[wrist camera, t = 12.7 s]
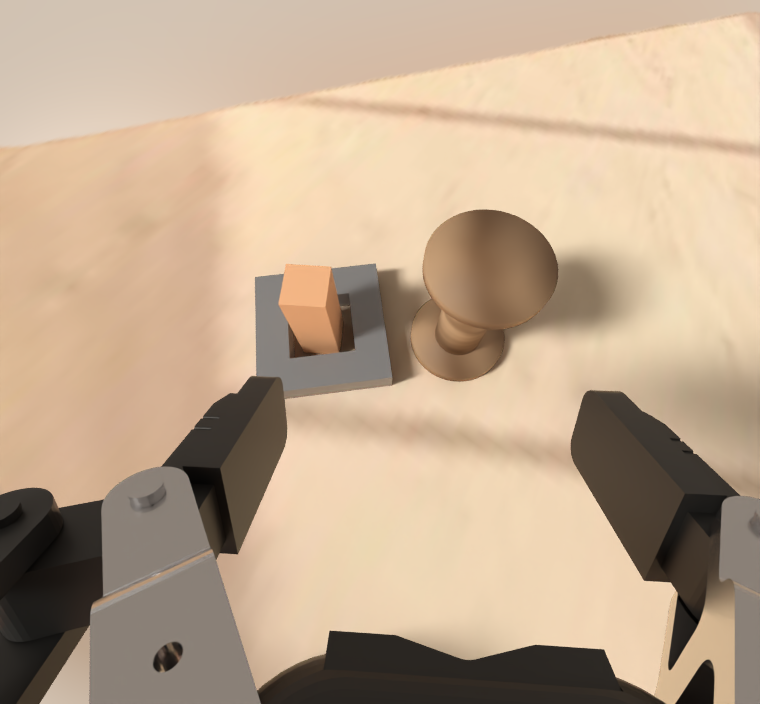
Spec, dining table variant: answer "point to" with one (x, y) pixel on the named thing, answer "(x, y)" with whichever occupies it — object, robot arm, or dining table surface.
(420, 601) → the dining table surface
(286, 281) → the orange rectangular block
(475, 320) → the bobbin
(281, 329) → the block with square hole
